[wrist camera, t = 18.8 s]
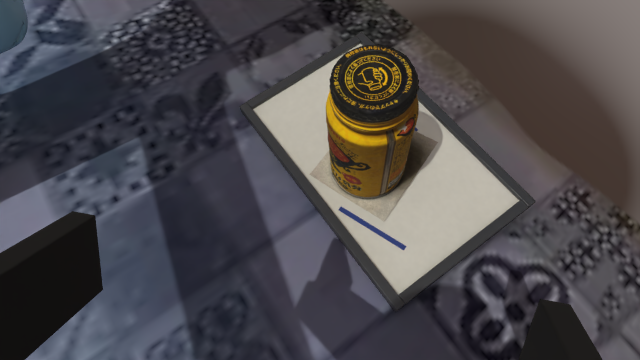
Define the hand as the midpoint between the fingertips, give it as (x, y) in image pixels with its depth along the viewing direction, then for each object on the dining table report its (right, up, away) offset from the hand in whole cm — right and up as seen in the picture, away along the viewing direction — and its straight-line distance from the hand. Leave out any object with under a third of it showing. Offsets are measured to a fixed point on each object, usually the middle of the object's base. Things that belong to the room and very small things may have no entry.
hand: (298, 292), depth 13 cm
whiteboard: (+6, +5, +24) cm, 25 cm away
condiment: (+5, +5, +23) cm, 24 cm away
